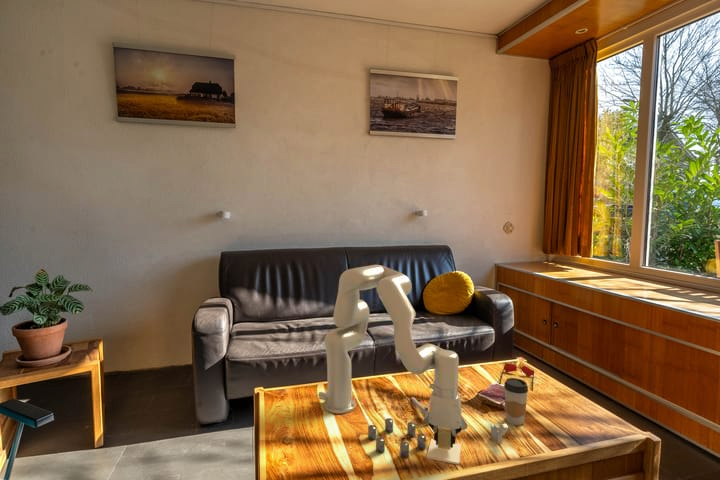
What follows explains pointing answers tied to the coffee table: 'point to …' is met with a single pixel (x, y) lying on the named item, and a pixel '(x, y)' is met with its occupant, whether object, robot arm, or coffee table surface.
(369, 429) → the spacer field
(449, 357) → the robot arm
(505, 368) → the glasses
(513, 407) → the coffee cup
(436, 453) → the coaster
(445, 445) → the tan rectangular block
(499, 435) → the lighter
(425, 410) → the caliper
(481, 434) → the coffee table surface
